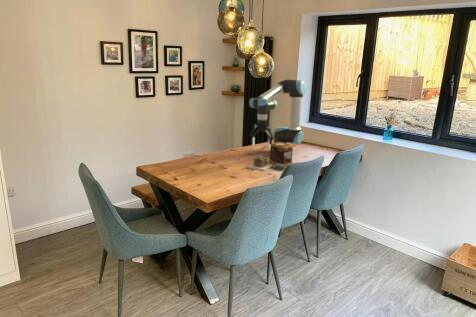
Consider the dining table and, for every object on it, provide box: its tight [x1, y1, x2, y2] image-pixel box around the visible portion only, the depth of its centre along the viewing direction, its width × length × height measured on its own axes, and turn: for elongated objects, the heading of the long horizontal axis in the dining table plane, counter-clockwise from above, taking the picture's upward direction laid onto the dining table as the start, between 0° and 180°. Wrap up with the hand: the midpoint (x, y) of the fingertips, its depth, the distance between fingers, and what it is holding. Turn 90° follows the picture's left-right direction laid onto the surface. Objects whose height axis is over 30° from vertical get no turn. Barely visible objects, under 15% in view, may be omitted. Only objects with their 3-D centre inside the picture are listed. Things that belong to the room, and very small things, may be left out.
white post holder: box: [247, 155, 273, 172], centre depth 281 cm, size 14×14×9 cm
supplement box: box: [269, 142, 294, 166], centre depth 293 cm, size 10×15×16 cm
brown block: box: [252, 155, 268, 168], centre depth 281 cm, size 8×8×6 cm
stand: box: [273, 163, 287, 172], centre depth 279 cm, size 7×7×3 cm
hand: (261, 146), depth 278 cm, fingers open, 13 cm apart
